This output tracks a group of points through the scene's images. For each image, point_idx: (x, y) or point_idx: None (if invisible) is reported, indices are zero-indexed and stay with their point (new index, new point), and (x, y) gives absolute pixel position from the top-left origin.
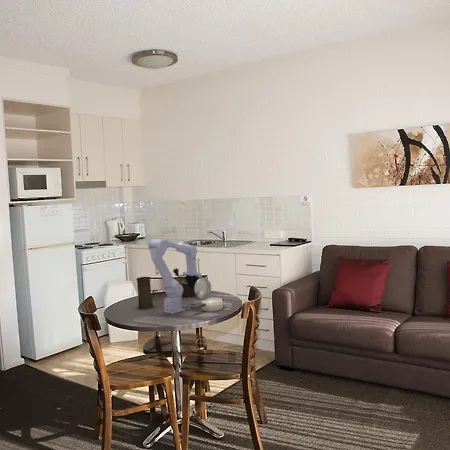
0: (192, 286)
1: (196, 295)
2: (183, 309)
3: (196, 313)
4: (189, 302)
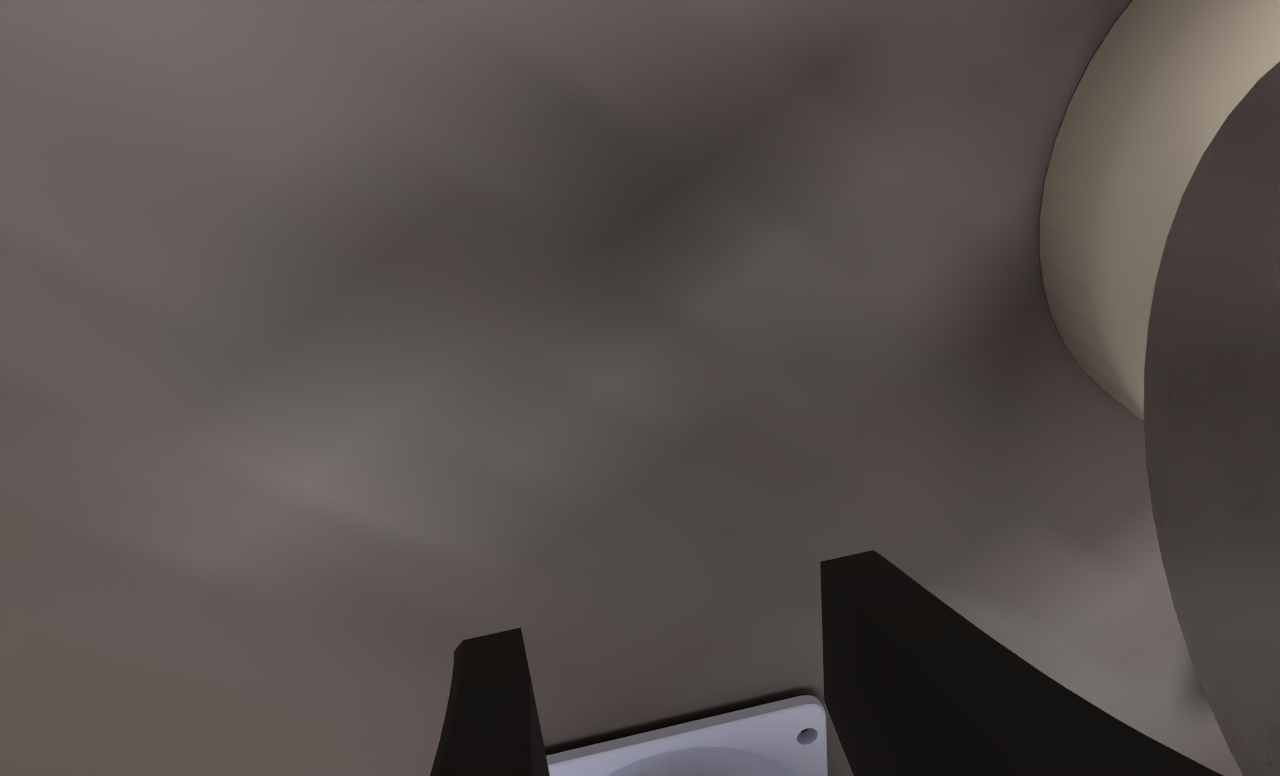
0: (524, 656)
1: (1220, 705)
2: (789, 726)
3: None
4: (28, 192)
